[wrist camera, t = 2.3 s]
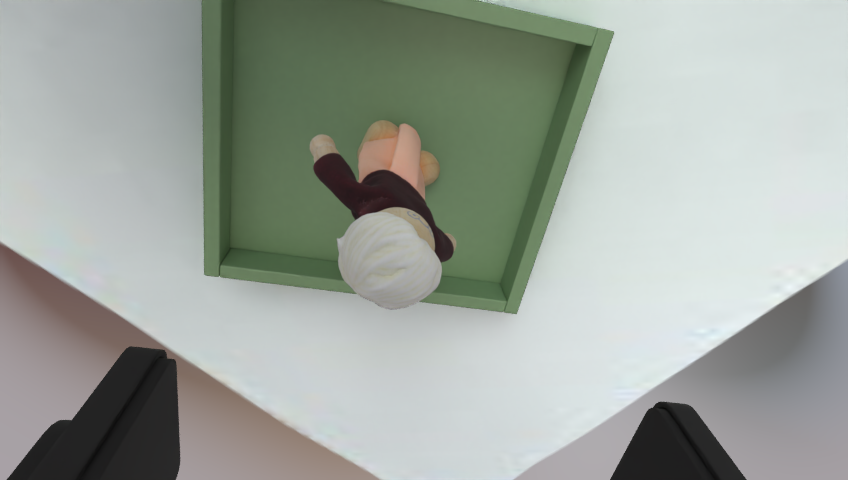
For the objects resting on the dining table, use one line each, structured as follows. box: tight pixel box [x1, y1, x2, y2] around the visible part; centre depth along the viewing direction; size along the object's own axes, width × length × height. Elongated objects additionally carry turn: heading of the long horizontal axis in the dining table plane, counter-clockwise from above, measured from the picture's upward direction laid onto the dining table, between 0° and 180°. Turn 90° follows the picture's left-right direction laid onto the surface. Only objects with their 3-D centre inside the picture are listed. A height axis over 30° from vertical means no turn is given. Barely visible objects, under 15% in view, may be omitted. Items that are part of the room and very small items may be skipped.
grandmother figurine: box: [310, 120, 456, 309], centre depth 20 cm, size 8×4×13 cm, turn 59°
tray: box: [202, 0, 614, 314], centre depth 24 cm, size 18×16×2 cm
